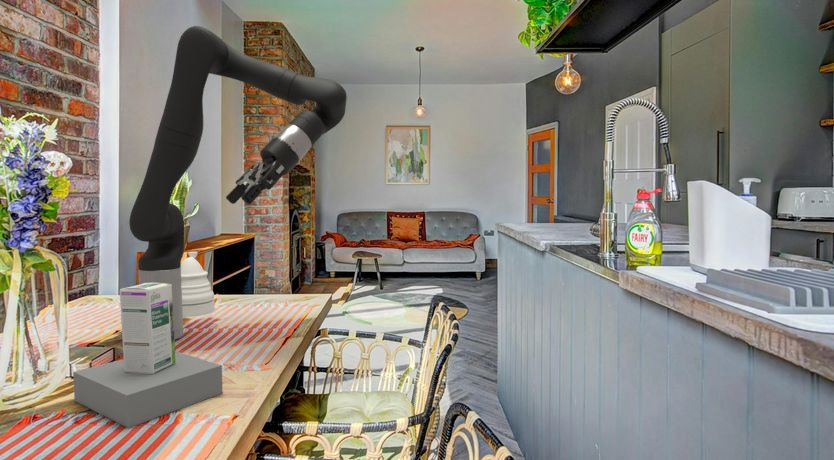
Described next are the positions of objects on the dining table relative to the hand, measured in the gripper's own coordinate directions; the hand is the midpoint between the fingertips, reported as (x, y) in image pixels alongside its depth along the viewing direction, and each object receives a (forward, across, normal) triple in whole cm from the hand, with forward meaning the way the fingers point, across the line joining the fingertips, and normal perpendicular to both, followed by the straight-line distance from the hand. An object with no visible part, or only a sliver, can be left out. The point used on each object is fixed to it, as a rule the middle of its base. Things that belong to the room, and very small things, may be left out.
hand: (236, 201), depth 104 cm
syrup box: (+34, +10, +6) cm, 36 cm away
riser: (+38, +10, +10) cm, 40 cm away
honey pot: (+20, -53, +28) cm, 63 cm away
